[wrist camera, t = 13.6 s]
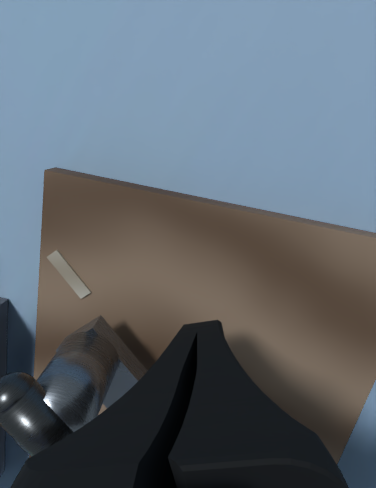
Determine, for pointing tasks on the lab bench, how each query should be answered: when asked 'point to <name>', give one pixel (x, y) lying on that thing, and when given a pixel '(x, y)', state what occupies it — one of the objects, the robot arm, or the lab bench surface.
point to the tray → (3, 368)
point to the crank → (68, 387)
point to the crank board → (215, 289)
